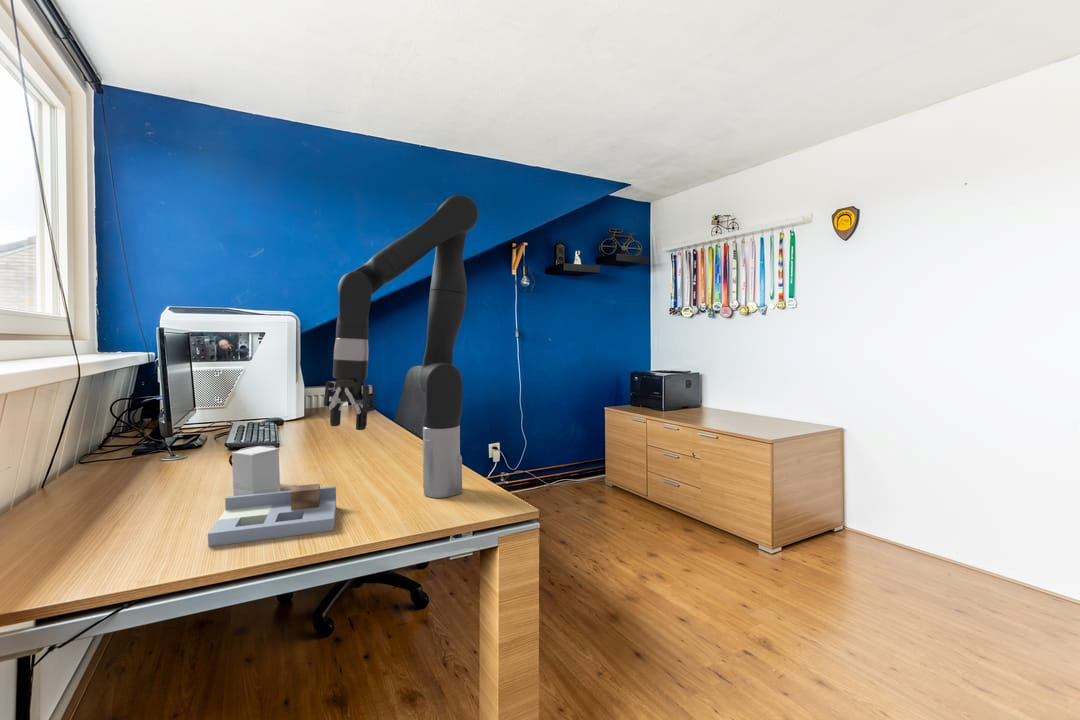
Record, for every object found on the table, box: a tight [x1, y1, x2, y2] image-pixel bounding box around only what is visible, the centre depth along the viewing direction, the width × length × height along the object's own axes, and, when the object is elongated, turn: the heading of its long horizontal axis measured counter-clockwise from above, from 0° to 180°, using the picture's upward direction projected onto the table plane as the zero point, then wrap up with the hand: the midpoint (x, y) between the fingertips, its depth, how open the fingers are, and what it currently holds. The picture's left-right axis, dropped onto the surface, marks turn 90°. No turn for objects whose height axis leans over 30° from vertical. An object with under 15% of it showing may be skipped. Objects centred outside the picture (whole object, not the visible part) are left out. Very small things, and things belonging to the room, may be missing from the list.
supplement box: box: [231, 445, 281, 496], centre depth 119 cm, size 7×7×13 cm
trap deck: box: [207, 485, 337, 547], centre depth 104 cm, size 22×15×5 cm
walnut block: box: [290, 483, 321, 510], centre depth 109 cm, size 6×4×4 cm
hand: (347, 427), depth 115 cm, fingers open, 8 cm apart
